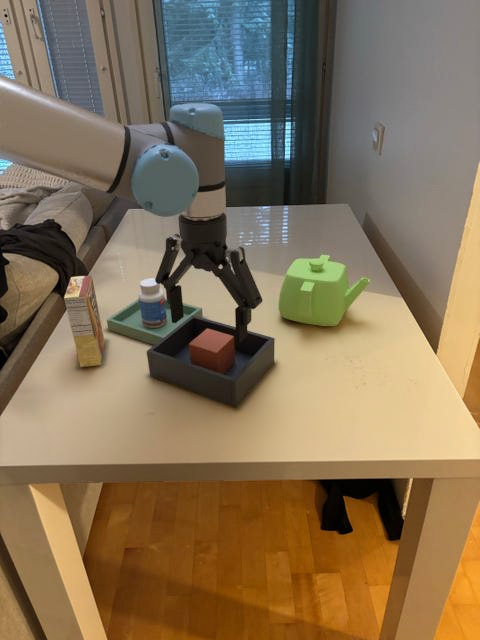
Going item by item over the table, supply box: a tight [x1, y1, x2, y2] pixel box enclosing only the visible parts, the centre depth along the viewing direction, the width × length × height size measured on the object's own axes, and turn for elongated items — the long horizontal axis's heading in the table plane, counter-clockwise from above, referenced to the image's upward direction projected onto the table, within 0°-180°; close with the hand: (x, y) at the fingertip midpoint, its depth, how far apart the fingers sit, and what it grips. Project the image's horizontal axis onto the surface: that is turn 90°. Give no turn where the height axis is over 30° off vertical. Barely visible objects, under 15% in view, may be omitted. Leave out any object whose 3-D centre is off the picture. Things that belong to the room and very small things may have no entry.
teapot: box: [278, 254, 371, 327], centre depth 101 cm, size 18×20×13 cm
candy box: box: [63, 275, 106, 368], centre depth 89 cm, size 9×4×15 cm, turn 10°
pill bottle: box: [137, 277, 167, 328], centre depth 100 cm, size 6×5×10 cm
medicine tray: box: [106, 297, 204, 346], centre depth 102 cm, size 16×14×3 cm
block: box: [189, 328, 235, 374], centre depth 86 cm, size 6×6×6 cm
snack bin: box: [146, 315, 276, 408], centre depth 87 cm, size 19×15×6 cm
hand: (208, 329), depth 83 cm, fingers open, 13 cm apart
